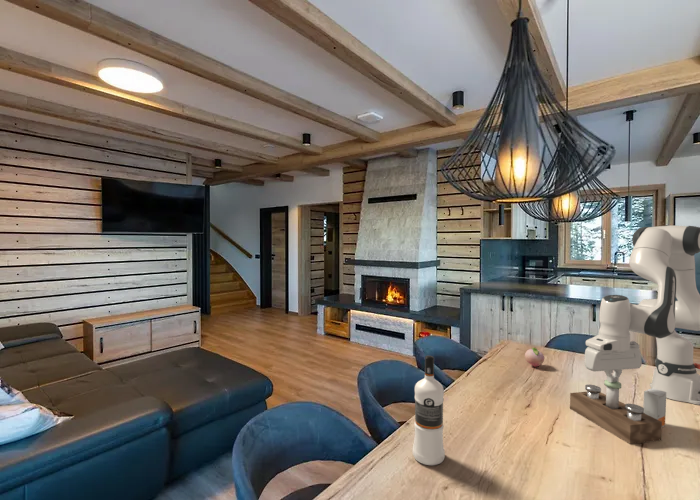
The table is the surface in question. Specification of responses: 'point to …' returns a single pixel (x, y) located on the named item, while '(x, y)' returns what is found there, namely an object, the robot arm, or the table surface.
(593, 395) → the plug
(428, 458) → the vodka
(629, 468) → the table surface
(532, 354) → the decorative fruit
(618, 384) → the plug mid
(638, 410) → the plug
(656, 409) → the skincare box
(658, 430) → the block
